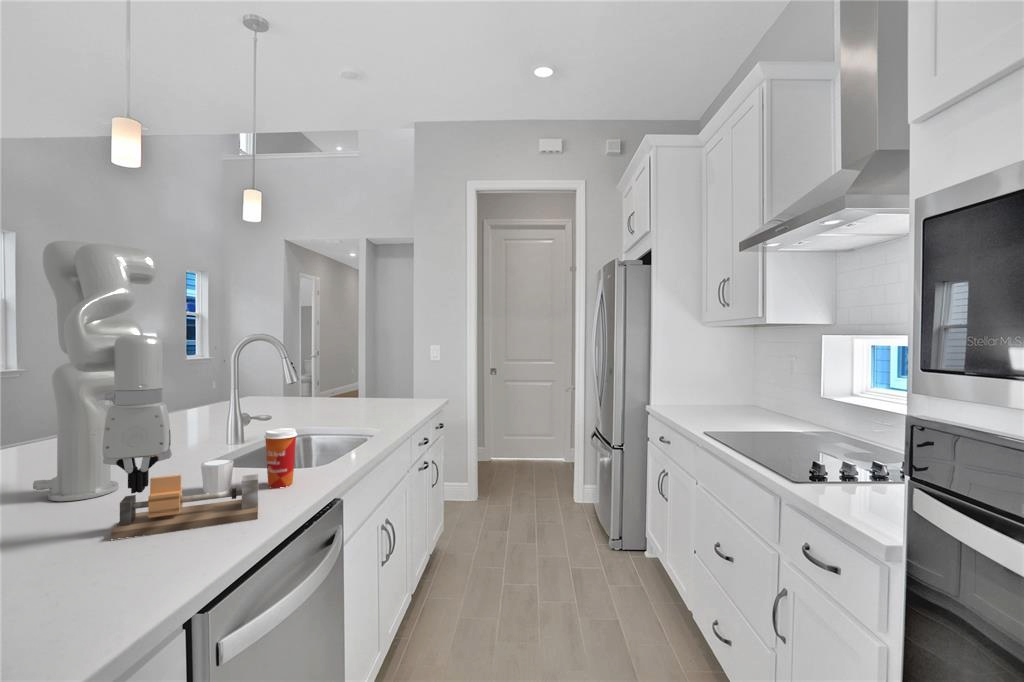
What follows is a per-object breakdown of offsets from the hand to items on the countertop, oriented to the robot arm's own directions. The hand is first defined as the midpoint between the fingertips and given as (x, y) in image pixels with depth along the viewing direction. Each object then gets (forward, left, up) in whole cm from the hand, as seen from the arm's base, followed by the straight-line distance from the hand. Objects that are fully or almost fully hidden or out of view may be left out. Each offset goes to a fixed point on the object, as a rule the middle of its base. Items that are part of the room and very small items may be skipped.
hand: (138, 490), depth 94 cm
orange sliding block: (+4, 0, -5) cm, 7 cm away
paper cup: (+26, +18, -8) cm, 32 cm away
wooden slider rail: (+9, 0, -7) cm, 12 cm away
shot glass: (+12, +20, -8) cm, 25 cm away
